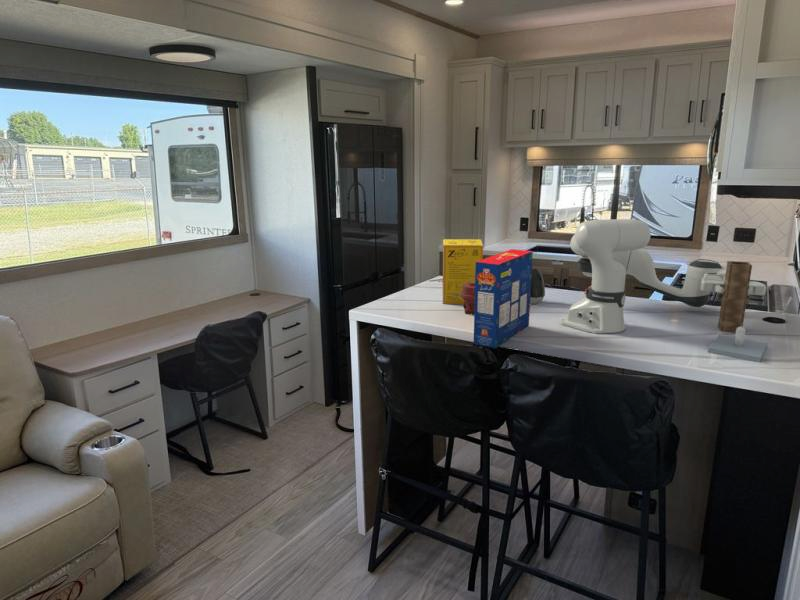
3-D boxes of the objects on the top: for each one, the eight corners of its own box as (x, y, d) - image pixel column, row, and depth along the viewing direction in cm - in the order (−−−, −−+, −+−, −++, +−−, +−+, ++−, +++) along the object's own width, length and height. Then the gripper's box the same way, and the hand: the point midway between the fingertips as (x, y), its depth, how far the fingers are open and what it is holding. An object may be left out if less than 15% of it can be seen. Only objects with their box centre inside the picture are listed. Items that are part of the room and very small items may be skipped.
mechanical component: (458, 315, 218) (461, 308, 227) (484, 316, 216) (485, 309, 225) (459, 285, 214) (461, 279, 224) (485, 285, 212) (486, 280, 222)
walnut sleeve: (720, 331, 196) (730, 264, 189) (718, 326, 201) (727, 261, 195) (741, 333, 193) (752, 265, 187) (738, 327, 199) (748, 262, 193)
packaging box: (443, 294, 250) (443, 239, 244) (479, 294, 249) (480, 239, 242) (442, 303, 235) (443, 245, 228) (481, 304, 233) (482, 245, 227)
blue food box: (508, 322, 208) (511, 249, 201) (528, 326, 203) (532, 251, 196) (473, 343, 186) (475, 261, 179) (495, 348, 181) (498, 264, 174)
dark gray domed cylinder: (543, 299, 239) (545, 265, 235) (545, 306, 229) (547, 270, 225) (519, 299, 241) (521, 264, 237) (520, 305, 231) (521, 269, 227)
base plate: (707, 352, 176) (711, 328, 174) (718, 339, 188) (721, 317, 186) (759, 362, 167) (763, 337, 165) (767, 347, 179) (771, 324, 177)
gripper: (760, 293, 203) (769, 303, 190) (697, 289, 210) (702, 298, 197) (763, 276, 201) (772, 285, 188) (699, 273, 208) (704, 280, 196)
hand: (735, 291), depth 193 cm, fingers closed on walnut sleeve, 6 cm apart
